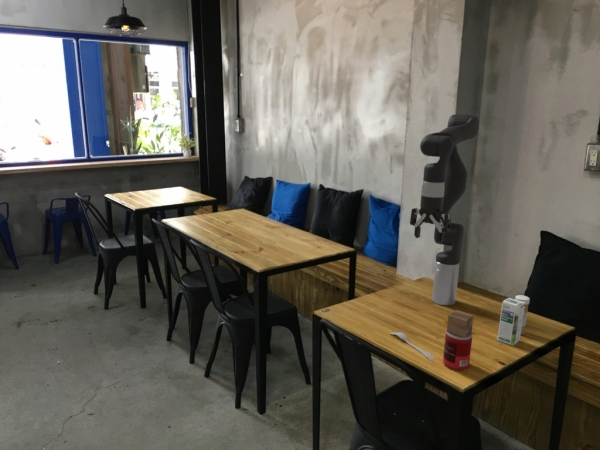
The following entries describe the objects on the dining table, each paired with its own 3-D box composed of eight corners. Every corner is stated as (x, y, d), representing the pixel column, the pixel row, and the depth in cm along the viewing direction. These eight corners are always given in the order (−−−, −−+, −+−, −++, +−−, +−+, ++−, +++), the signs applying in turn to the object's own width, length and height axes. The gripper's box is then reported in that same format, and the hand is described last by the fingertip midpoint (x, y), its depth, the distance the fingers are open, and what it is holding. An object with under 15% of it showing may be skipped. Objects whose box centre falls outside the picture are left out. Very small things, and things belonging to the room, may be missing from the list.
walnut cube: (454, 326, 148) (456, 309, 147) (471, 331, 145) (473, 315, 143) (446, 332, 144) (448, 315, 143) (464, 338, 141) (466, 320, 139)
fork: (429, 367, 150) (430, 360, 149) (386, 334, 167) (387, 327, 166) (435, 365, 151) (437, 358, 150) (392, 332, 168) (394, 325, 167)
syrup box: (496, 340, 163) (501, 301, 160) (503, 335, 167) (509, 296, 164) (513, 346, 159) (519, 306, 156) (520, 340, 163) (526, 301, 160)
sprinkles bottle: (508, 329, 172) (513, 294, 168) (520, 329, 172) (525, 294, 169) (515, 335, 167) (520, 299, 164) (527, 335, 168) (532, 299, 164)
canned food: (471, 362, 149) (474, 330, 146) (465, 373, 142) (469, 340, 139) (446, 355, 152) (449, 324, 150) (439, 366, 146) (443, 333, 143)
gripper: (457, 196, 161) (452, 242, 165) (419, 190, 170) (415, 234, 174) (446, 198, 155) (442, 246, 159) (408, 192, 165) (405, 237, 169)
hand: (428, 239), depth 167 cm, fingers open, 8 cm apart
